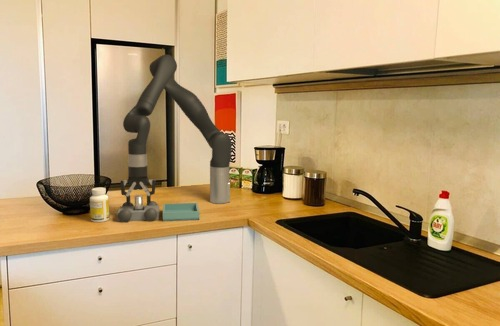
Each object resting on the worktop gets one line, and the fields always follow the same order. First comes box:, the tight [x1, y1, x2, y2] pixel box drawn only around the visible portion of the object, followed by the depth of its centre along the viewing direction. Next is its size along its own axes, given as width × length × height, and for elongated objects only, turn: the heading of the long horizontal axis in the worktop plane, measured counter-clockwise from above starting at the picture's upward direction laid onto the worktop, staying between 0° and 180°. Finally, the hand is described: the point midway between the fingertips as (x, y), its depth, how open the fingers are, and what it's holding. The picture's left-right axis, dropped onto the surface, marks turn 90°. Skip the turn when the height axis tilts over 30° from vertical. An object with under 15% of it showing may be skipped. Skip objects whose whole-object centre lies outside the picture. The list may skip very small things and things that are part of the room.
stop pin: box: [134, 194, 144, 210], centre depth 169 cm, size 3×3×9 cm
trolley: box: [114, 200, 160, 223], centre depth 169 cm, size 18×14×5 cm
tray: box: [162, 202, 200, 222], centre depth 173 cm, size 15×15×4 cm
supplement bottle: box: [89, 186, 110, 223], centre depth 164 cm, size 7×7×13 cm
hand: (138, 204), depth 169 cm, fingers open, 7 cm apart
